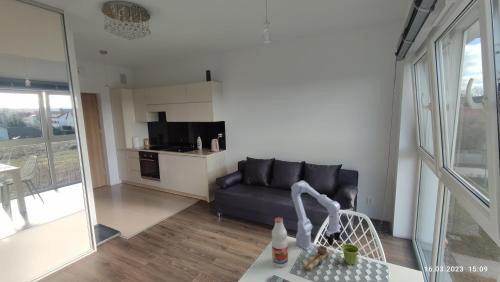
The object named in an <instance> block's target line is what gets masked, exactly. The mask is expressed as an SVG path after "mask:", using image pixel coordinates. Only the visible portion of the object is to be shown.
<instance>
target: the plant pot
mask: <svg viewBox="0 0 500 282" xmlns="http://www.w3.org/2000/svg"><path fill="white" fill-rule="evenodd" d="M341 250H342V251H343V257H344V258H343V259H344V262H345V263H346V264H347V263H348V264H347V265H350V264H351V266H352V265H355V264H356V263H357V258H358V254H359V251H360V249H359V247H358V246H356V245H354V244H351V243H345V244H343V245H341Z"/></svg>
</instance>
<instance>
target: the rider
mask: <svg viewBox="0 0 500 282" xmlns="http://www.w3.org/2000/svg"><path fill="white" fill-rule="evenodd" d="M316 249H317V252H316V253H318V254H320V256H321V255H322V256H324V255H325V254H326V253H327V250H328V249H327V247H326V246H324V245H321V244H320V245H319V246H318V247H317V248H316ZM320 256H319V257H320Z"/></svg>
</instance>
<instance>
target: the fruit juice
mask: <svg viewBox="0 0 500 282" xmlns="http://www.w3.org/2000/svg"><path fill="white" fill-rule="evenodd" d="M274 222H275V223H274V226H273V228H272V230H271V237H272V239H271V252H272V253H271V256H272V265H273V266H274V267H276V268H280V269H281V268H285V267H287V266H288V265H289V247H288V246H289V245H288V244H289V243H288V239H287V237H288V232H287V229H286V227H285V225H284V219H283V217H275V218H274Z"/></svg>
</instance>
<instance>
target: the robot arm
mask: <svg viewBox="0 0 500 282" xmlns="http://www.w3.org/2000/svg"><path fill="white" fill-rule="evenodd" d="M290 189H291V194H290V195H291V198H292V202H293V204H294V205H293V206H294V208H295V213H296V216H297V220H298V221H297V224H296V225H297V232H296V235H295V242H296V243H295V246H297V247H299V248H301V249H304V250H307V251H308V250H310V249H311V248H313V246H314V244H313V243H312V237H311V236H312V235H311V233H312V230H313V228H314V227H313V224H312V222H311V221H310V219H309V218H308V217H307V214H306V210H305V208H304V204H303V201H302V197H301V195H302V194H303V193H304V194H305V193H307V194H308V195H310V196H311V197H313V198H315V199H317V202H318V203H319V204H320V205H322V206H323V207H324V208H325V209H326V210H327V211H328V228H327V230H326V232H325V233H324V236H325V238H326V240H327V245H329V246H331V247H333V244H334V240H335V241H337V242H339V241H340V238H341V235H342V233H343V229H342V225H341V224H340V212H339V211H340V209H341V204H340V203H339V202H338V201H336V200H332V199H331V198H329V197H327V195H326V194H320V193H319V192H318V191H316V190H315V189H314V188H313V187H312V186H310V184H309V183H308V182H306V181H305V180H300V181H298V182H296V183H293V184H292V186H291V187H290Z"/></svg>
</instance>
